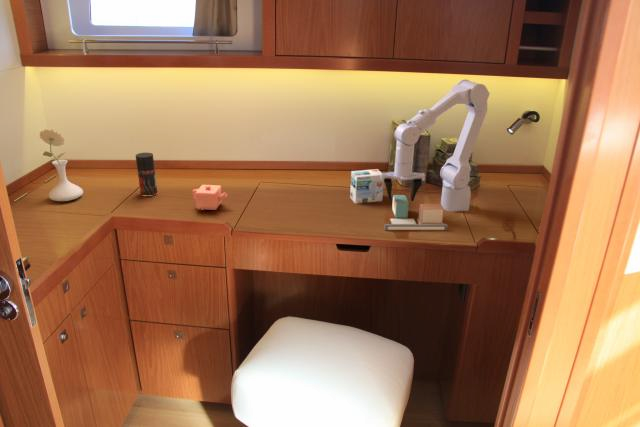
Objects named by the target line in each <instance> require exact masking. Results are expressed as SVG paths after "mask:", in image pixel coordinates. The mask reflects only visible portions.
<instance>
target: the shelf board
mask: <svg viewBox="0 0 640 427" xmlns="http://www.w3.org/2000/svg"><path fill="white" fill-rule="evenodd" d="M389 220H390V222H391V223H385V224H384V226H383V228H384V229H383V230H384V231H448V227H449V225H448V224H447V223H444V221H442V224H421V223H420V221H419V219H418V218H416V220H417V222H418V223H416V221H415V218H389Z"/></svg>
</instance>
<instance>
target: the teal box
mask: <svg viewBox="0 0 640 427" xmlns="http://www.w3.org/2000/svg"><path fill="white" fill-rule="evenodd" d="M409 204H410V203H409V200H408V198H407V196H406V195H404V194H393V195H392V207H391V210H392V213H393V215H394V219H408V216H409Z"/></svg>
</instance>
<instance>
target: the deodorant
mask: <svg viewBox="0 0 640 427" xmlns="http://www.w3.org/2000/svg"><path fill="white" fill-rule="evenodd" d="M135 162H136V167H137V169H136V170H137V176H138V184H139V190H140V196H141V195H154V194H156V193H157V192H158V185H157V177H156V169H155V160H154V154H153V153H152V152H140V153H136V154H135Z"/></svg>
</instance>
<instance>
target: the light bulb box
mask: <svg viewBox="0 0 640 427" xmlns="http://www.w3.org/2000/svg"><path fill="white" fill-rule="evenodd" d="M381 173H382V172H381V171H380V170H379V169H378V168H375V169H363V170H351V172H350V189H349V190H350V194H349V198H350V199H351V201H353V203H354V204H355V205H357V204H365V203H372V202H373V203H375V202H383V196H384V194H383V193H384V185H385V183H384V180H381V179H380V175H381Z"/></svg>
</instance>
